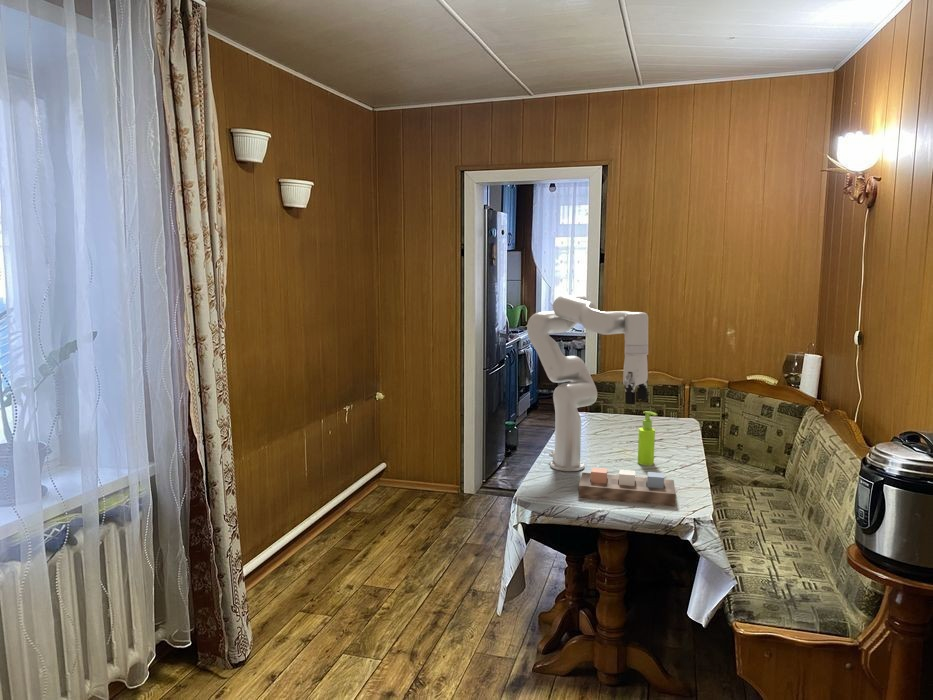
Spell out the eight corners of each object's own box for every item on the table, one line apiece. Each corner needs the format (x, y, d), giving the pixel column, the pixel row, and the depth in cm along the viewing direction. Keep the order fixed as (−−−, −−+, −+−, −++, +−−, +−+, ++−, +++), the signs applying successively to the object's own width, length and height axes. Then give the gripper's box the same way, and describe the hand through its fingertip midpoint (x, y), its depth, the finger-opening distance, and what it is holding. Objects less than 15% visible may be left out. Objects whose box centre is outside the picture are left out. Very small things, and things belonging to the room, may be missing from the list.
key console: (578, 497, 216) (578, 485, 216) (582, 483, 230) (582, 472, 229) (675, 506, 209) (675, 494, 208) (673, 491, 222) (673, 480, 222)
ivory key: (618, 486, 217) (619, 474, 216) (619, 481, 222) (619, 469, 221) (634, 487, 216) (635, 475, 215) (634, 482, 220) (635, 470, 220)
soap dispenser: (649, 466, 249) (651, 414, 246) (634, 462, 254) (636, 411, 252) (659, 464, 252) (661, 412, 250) (644, 459, 258) (646, 409, 255)
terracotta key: (590, 483, 219) (591, 471, 219) (591, 478, 224) (592, 467, 223) (606, 484, 218) (606, 473, 217) (606, 480, 223) (607, 468, 222)
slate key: (647, 488, 215) (647, 476, 214) (647, 483, 219) (647, 471, 219) (663, 489, 213) (664, 477, 213) (663, 484, 218) (663, 473, 218)
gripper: (635, 347, 227) (635, 397, 229) (614, 352, 213) (614, 404, 215) (657, 348, 223) (657, 398, 224) (636, 352, 209) (636, 406, 211)
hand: (636, 401), depth 220 cm, fingers open, 9 cm apart
